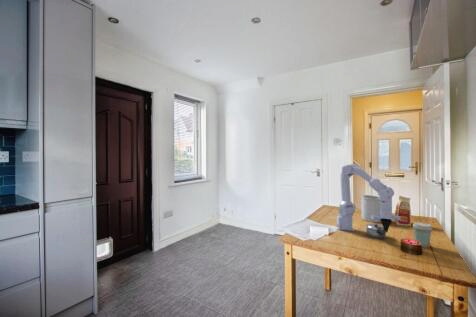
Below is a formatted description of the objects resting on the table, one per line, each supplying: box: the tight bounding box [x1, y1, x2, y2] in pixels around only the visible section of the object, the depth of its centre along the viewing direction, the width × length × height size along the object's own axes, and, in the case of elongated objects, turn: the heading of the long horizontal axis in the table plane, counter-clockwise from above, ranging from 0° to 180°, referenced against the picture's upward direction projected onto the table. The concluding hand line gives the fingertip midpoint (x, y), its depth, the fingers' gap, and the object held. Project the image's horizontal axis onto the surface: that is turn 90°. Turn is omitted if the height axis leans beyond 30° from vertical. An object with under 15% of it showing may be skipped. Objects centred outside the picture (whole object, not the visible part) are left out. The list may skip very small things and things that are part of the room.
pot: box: [366, 227, 387, 240], centre depth 142 cm, size 17×10×5 cm, turn 170°
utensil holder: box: [360, 194, 381, 223], centre depth 175 cm, size 15×15×18 cm
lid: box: [365, 223, 387, 234], centre depth 140 cm, size 16×11×2 cm
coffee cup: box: [412, 221, 433, 249], centre depth 128 cm, size 8×8×12 cm
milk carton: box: [394, 195, 412, 227], centre depth 166 cm, size 9×9×20 cm
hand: (385, 231), depth 134 cm, fingers closed
